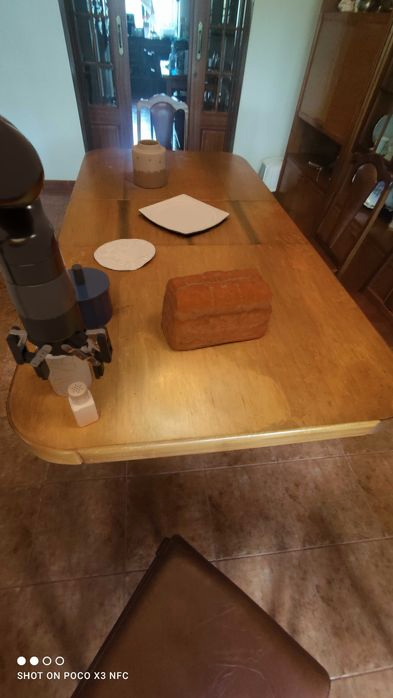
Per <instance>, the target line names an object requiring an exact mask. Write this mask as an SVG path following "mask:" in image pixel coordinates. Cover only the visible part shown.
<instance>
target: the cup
mask: <svg viewBox="0 0 393 698" xmlns="http://www.w3.org/2000/svg"><path fill="white" fill-rule="evenodd" d="M36 348H37V346H35V349H36ZM81 350H82V351H83V347H82V348H81ZM45 360H46V362H47V365H48V367H49V369H50V374H49V377H48V381H49V383H50V385H51V387H52V389H53V391H54V393H55V394H56V395H58V396H60V397H62V398H69V394H68V388H69V386H70V385H71V384H73V383H75V382H82V383H84V384H85V385H86V387H87V390H89V388H90V387H91V385H92V383H93V376H92V372H91V369H90V365H89V362H88V361H87V360H85V361H82V360H81V359H79V358H78V357H76V356H75V355H74V356H65V355H61V356H52V355H51V354H47V356H46V357H45Z"/></svg>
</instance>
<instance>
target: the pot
mask: <svg viewBox="0 0 393 698" xmlns="http://www.w3.org/2000/svg"><path fill="white" fill-rule="evenodd" d="M77 303H78V306H79V310H80V314H81V317H82V322H83V325H84V326H85V327H86V328H87V329H88V330H97V329H98V328H99V326H101V325H104V326H106V324H108V323H110V321H111V319H112V317H113V313H114V312H113V311H114V309H113V302H112V297H111V290H110V287H109V288H108V290H107V291H106V292H105V293H104V294H102V295H101V296H99V297H97V298H95V299H92V300H89V301H84V302H77Z"/></svg>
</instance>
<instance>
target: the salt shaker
mask: <svg viewBox="0 0 393 698" xmlns="http://www.w3.org/2000/svg"><path fill="white" fill-rule="evenodd" d="M68 394H69V397H67V398H68V402H69V406H70V408H71V411H72V413H73V415H74V416H73V417H74V418H75V421H76V424H77V426H78V427H79V428H83V427H87V425H88V426H89V425H90V424H93V423H95V422H97V421H99V419H100V418H99V413H98V409H97V406H96V402H95V401H94V398H93V395H92V393H91V391H90V389H87V387H86V385H85V384H84V383H82V382H75V383H73V384H71V385H70V386H69V388H68Z"/></svg>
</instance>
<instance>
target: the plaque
mask: <svg viewBox="0 0 393 698" xmlns="http://www.w3.org/2000/svg"><path fill="white" fill-rule="evenodd" d="M155 254H156V247H155V246H154V244H153V243H151V242H150V241H147V240H145V239H140V238H121V239H120V238H119V239H115V240H112V241H108V242H106V243H104V244H102V245H100V246H99V247H98V248H97V249H96V250H95V251H94V252H93V258H94V259H95V261H96V262H97V263H98V264H99V265H100V266H102V267H104V268H107V269H110V270H114V271H136V270H138V269H141V268H142V267H143V266H144V265H145V264H146V263H147V262H149V261H151V259H153V258H154V257H155Z"/></svg>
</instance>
